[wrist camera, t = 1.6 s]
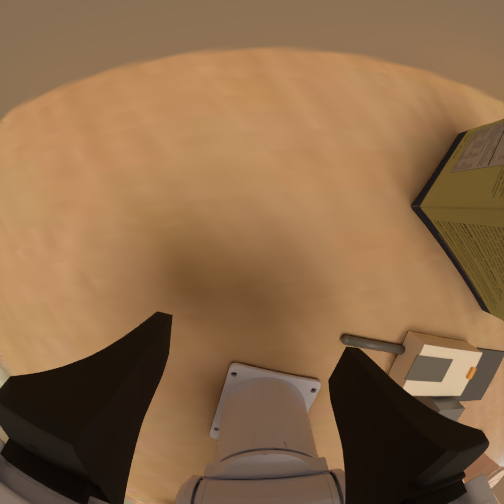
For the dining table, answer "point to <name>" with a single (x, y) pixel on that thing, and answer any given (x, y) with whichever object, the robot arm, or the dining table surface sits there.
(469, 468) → the smoothie
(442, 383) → the cream walkie talkie
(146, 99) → the dining table surface
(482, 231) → the protein box
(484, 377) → the coaster
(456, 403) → the block
